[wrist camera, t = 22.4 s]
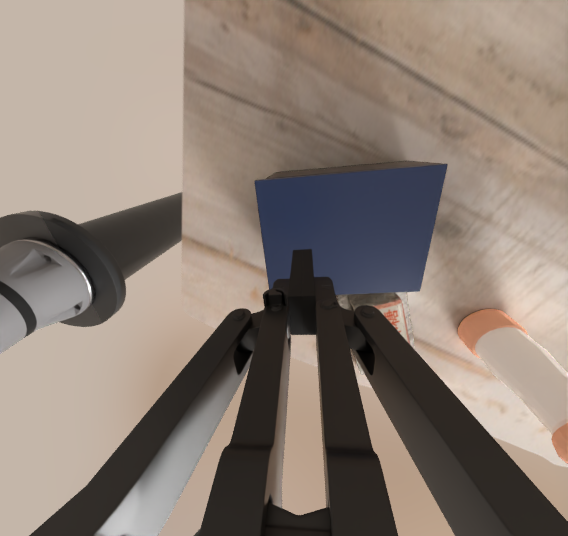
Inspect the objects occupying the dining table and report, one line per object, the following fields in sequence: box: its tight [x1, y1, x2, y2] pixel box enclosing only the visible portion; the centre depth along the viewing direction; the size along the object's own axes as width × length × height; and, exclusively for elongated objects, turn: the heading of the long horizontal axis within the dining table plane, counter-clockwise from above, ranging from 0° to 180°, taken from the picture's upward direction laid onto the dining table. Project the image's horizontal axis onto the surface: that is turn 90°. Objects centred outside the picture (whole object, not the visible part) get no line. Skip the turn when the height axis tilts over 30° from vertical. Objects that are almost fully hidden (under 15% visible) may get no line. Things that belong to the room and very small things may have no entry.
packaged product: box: [338, 292, 415, 375], centre depth 36 cm, size 18×5×10 cm
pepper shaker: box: [458, 309, 568, 464], centre depth 27 cm, size 7×7×19 cm
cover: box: [255, 164, 448, 295], centre depth 23 cm, size 16×13×1 cm
